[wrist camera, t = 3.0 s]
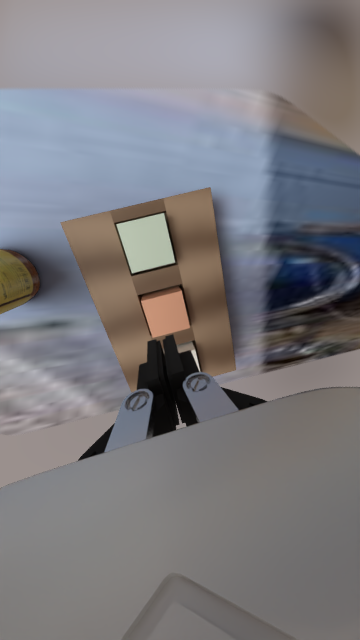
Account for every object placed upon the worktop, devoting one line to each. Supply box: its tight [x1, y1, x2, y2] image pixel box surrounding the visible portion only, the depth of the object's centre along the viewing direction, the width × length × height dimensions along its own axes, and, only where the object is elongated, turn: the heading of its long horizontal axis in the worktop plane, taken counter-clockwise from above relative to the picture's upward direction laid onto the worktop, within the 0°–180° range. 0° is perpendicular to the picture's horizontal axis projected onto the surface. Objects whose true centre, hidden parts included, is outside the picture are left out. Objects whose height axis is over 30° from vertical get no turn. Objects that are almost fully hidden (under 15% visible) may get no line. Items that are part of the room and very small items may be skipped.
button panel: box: [60, 187, 236, 392], centre depth 22 cm, size 21×14×4 cm, turn 13°
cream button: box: [163, 341, 200, 371], centre depth 23 cm, size 4×4×3 cm
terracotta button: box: [141, 286, 190, 338], centre depth 20 cm, size 4×4×3 cm
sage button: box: [116, 213, 175, 273], centre depth 18 cm, size 4×4×3 cm
